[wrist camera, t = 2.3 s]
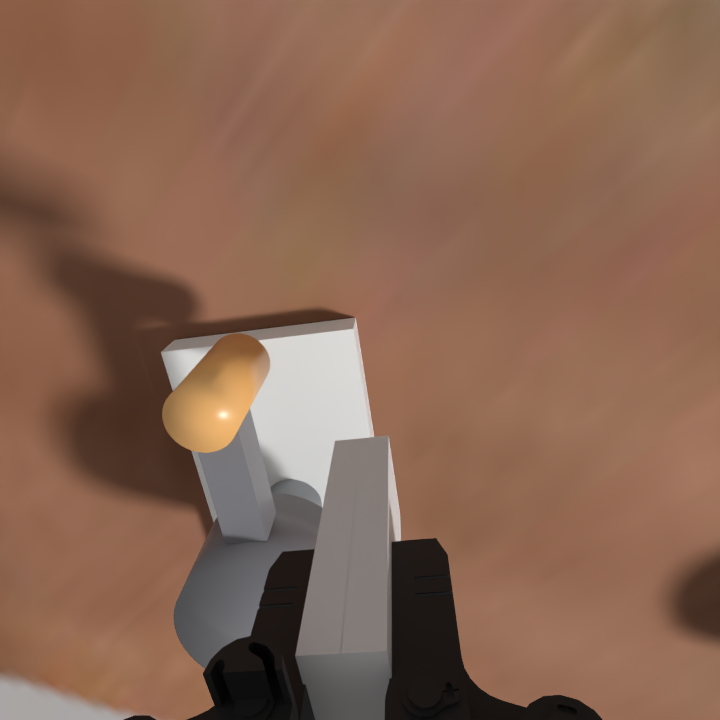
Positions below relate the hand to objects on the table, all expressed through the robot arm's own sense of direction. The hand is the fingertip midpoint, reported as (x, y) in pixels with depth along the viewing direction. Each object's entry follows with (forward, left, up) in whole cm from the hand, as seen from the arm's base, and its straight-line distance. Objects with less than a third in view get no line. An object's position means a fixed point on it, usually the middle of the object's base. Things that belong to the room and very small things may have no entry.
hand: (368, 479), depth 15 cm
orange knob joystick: (-7, +7, -11) cm, 15 cm away
